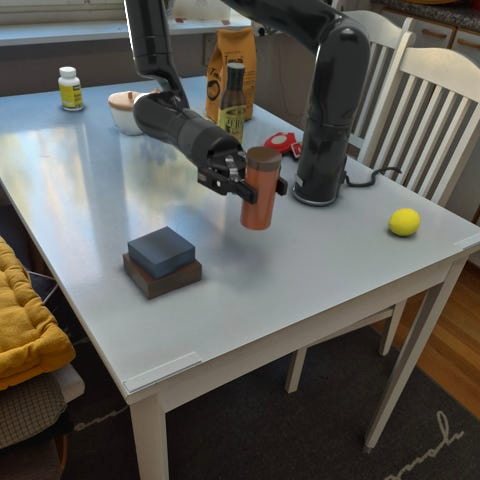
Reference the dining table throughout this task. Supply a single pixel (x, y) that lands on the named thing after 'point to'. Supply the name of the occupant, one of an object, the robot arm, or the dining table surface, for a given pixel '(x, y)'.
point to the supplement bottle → (70, 89)
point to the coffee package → (226, 51)
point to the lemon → (404, 221)
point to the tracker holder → (284, 143)
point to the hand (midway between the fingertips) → (270, 194)
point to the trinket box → (124, 111)
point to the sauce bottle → (233, 102)
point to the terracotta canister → (261, 186)
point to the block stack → (161, 262)
